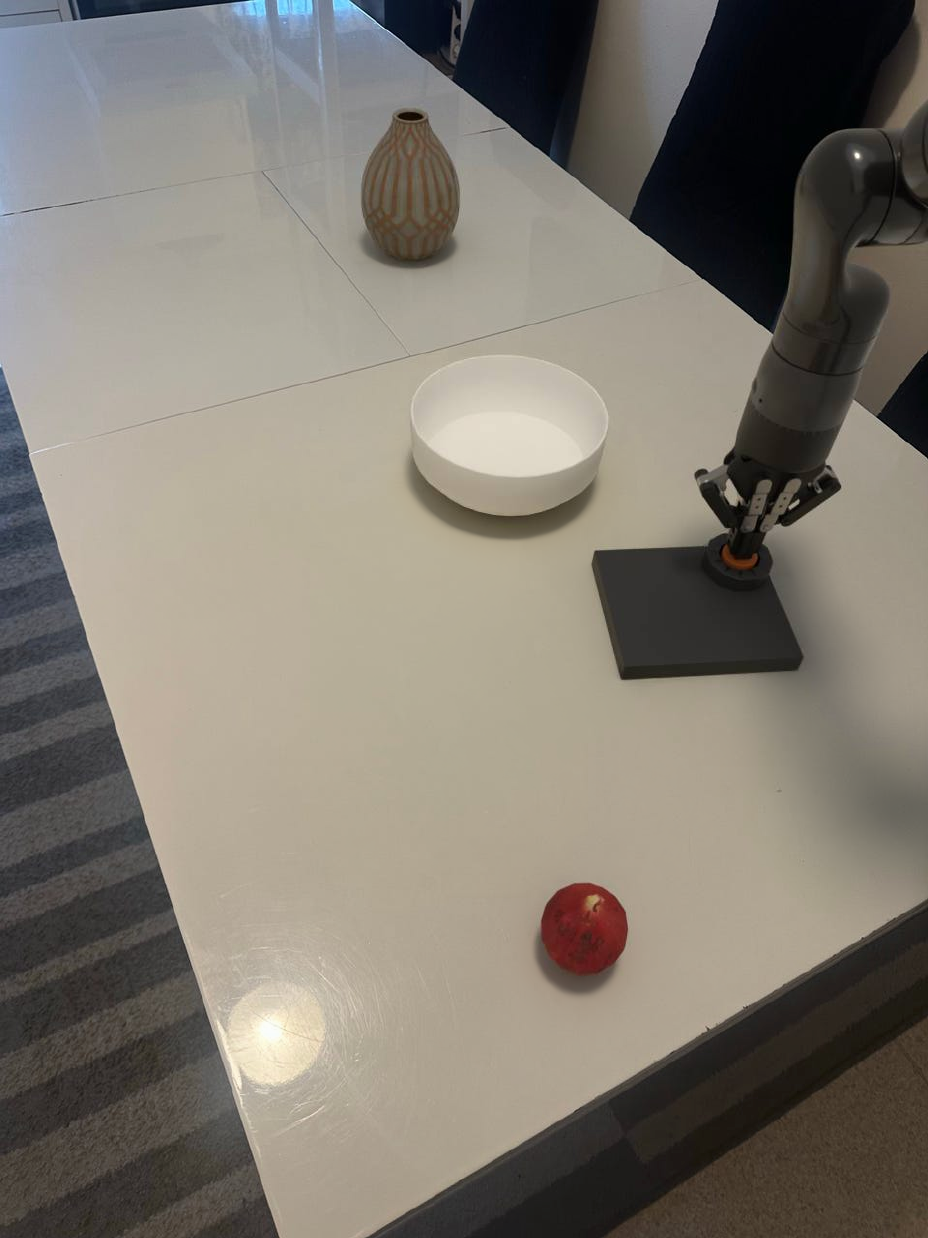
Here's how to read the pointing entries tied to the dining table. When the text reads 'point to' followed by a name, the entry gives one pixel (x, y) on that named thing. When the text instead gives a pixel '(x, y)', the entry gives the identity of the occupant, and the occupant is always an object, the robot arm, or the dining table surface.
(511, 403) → the bowl
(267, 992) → the dining table surface
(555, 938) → the pomegranate
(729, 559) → the button
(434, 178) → the vase
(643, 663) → the scale
